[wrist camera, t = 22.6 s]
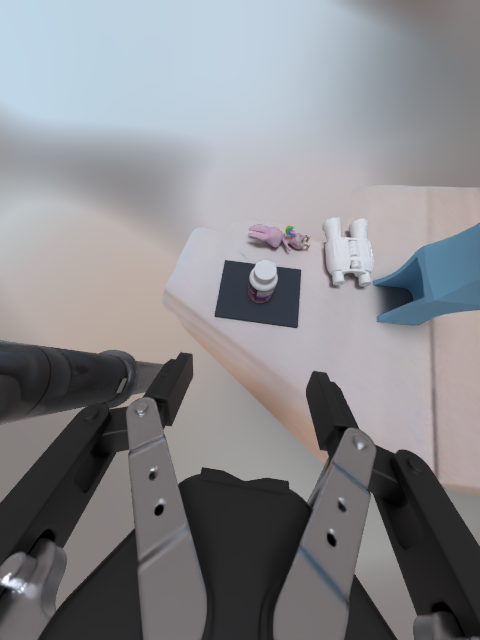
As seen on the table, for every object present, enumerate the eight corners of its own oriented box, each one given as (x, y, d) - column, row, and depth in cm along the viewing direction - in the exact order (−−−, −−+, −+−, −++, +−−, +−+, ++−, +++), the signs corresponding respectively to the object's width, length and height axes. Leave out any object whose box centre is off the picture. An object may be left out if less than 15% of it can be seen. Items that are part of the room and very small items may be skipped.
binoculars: (360, 231, 47) (373, 216, 43) (369, 289, 43) (384, 279, 38) (318, 229, 47) (327, 214, 43) (323, 287, 43) (333, 277, 39)
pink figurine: (304, 238, 48) (248, 226, 46) (317, 221, 43) (253, 206, 41) (304, 259, 47) (245, 247, 45) (317, 244, 41) (250, 229, 39)
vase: (423, 326, 40) (691, 257, 16) (377, 321, 41) (574, 247, 17) (416, 285, 43) (637, 174, 19) (372, 281, 43) (537, 167, 19)
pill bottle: (246, 282, 43) (248, 257, 33) (269, 280, 43) (278, 254, 33) (249, 304, 41) (252, 284, 32) (273, 302, 41) (283, 281, 32)
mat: (214, 316, 41) (214, 315, 40) (225, 261, 45) (225, 260, 44) (296, 327, 40) (297, 327, 40) (300, 271, 44) (301, 269, 44)
